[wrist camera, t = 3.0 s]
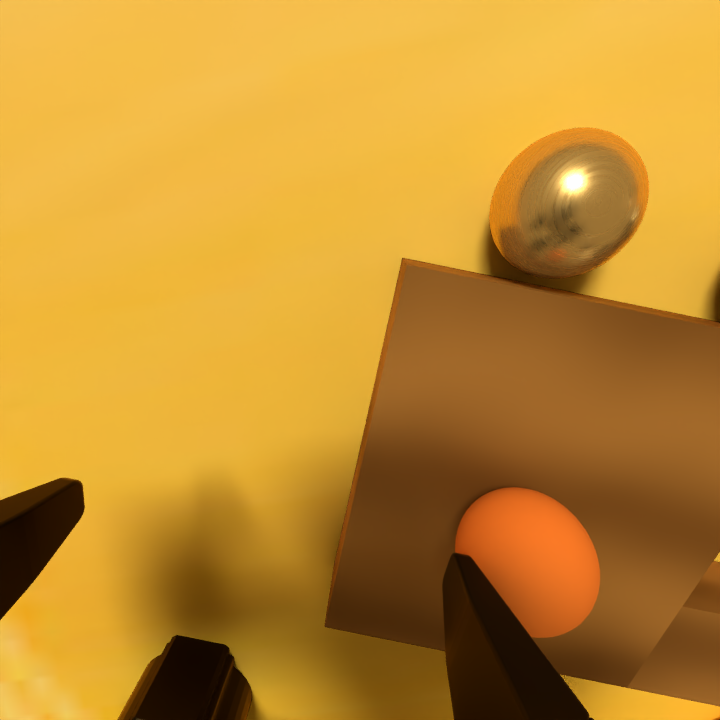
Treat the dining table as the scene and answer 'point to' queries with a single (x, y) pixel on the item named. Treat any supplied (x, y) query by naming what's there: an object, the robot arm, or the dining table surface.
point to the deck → (544, 467)
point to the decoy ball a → (569, 203)
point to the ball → (533, 558)
